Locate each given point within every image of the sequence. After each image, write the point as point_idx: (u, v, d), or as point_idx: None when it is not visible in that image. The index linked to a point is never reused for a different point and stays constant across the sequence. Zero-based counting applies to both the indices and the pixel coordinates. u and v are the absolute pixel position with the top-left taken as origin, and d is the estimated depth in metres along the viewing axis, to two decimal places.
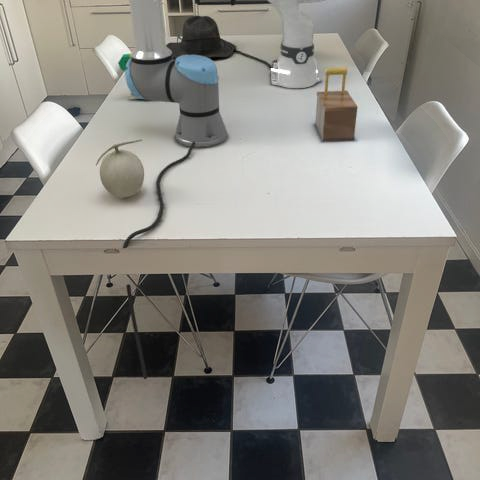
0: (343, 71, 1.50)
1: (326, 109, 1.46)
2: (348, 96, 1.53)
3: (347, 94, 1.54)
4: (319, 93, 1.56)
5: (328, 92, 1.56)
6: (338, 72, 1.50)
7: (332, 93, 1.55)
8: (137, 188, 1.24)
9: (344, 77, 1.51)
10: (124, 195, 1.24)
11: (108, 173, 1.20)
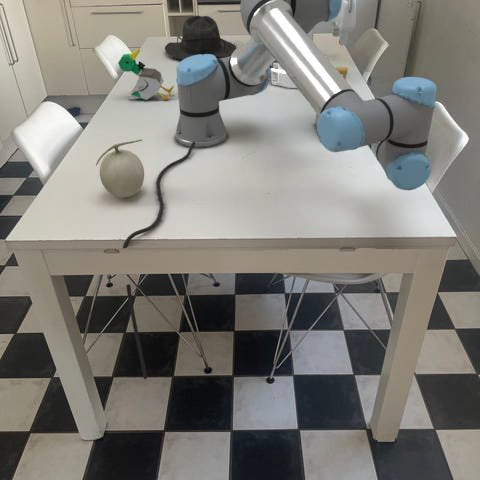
0: (343, 71, 1.50)
1: None
2: None
3: None
4: None
5: None
6: None
7: None
8: (137, 188, 1.24)
9: (344, 77, 1.51)
10: (124, 195, 1.24)
11: (108, 173, 1.20)
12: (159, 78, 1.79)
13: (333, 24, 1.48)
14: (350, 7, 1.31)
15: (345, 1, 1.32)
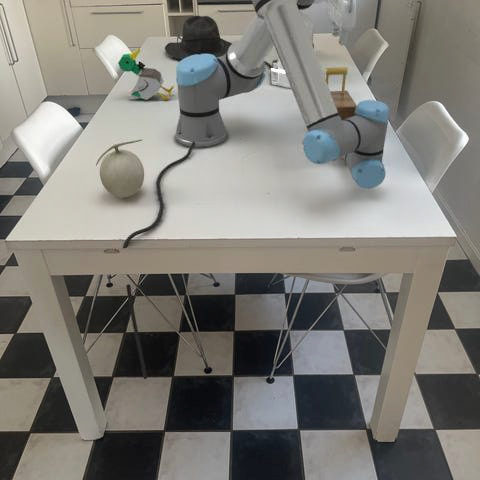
0: (343, 71, 1.50)
1: None
2: (348, 96, 1.53)
3: (347, 94, 1.54)
4: None
5: None
6: (338, 72, 1.50)
7: (332, 93, 1.55)
8: (137, 188, 1.24)
9: (344, 77, 1.51)
10: (124, 195, 1.24)
11: (108, 173, 1.20)
12: (159, 78, 1.79)
13: (333, 24, 1.48)
14: (350, 7, 1.31)
15: (345, 1, 1.32)
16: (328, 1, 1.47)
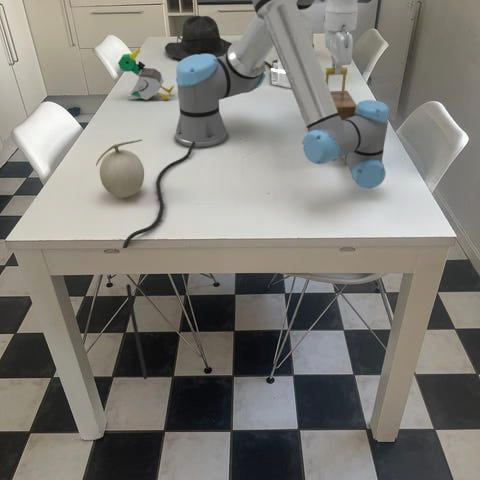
0: (343, 71, 1.50)
1: None
2: (348, 96, 1.53)
3: (347, 94, 1.54)
4: None
5: None
6: None
7: (332, 93, 1.55)
8: (137, 188, 1.24)
9: (344, 77, 1.51)
10: (124, 195, 1.24)
11: (108, 173, 1.20)
12: (159, 78, 1.79)
13: (333, 58, 1.51)
14: (347, 43, 1.36)
15: (342, 37, 1.37)
16: (326, 33, 1.52)
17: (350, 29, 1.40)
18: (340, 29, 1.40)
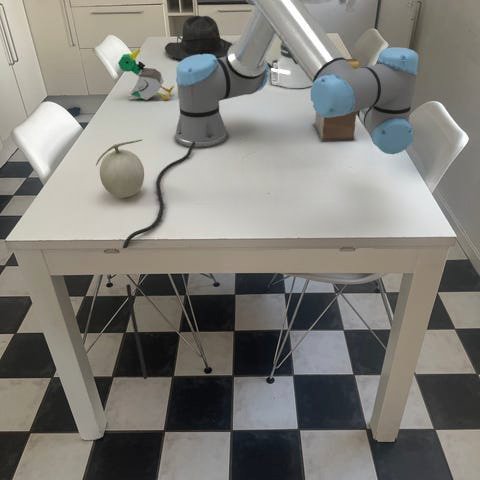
0: (354, 68, 1.38)
1: None
2: None
3: None
4: None
5: None
6: None
7: None
8: (137, 188, 1.24)
9: None
10: (124, 195, 1.24)
11: (108, 173, 1.20)
12: (159, 78, 1.79)
13: None
14: None
15: None
16: None
17: None
18: None
